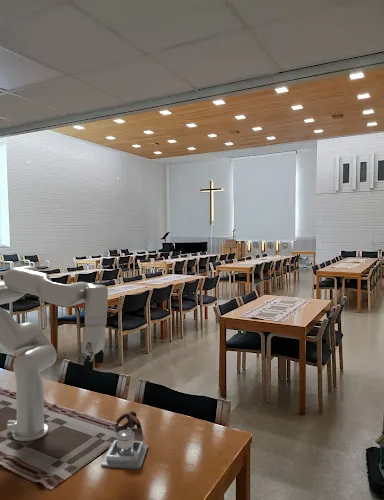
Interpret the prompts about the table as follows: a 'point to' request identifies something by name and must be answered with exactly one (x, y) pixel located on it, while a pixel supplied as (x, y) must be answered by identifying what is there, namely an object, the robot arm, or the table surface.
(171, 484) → the table surface
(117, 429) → the pottery mug
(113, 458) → the duct collar
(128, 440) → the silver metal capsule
